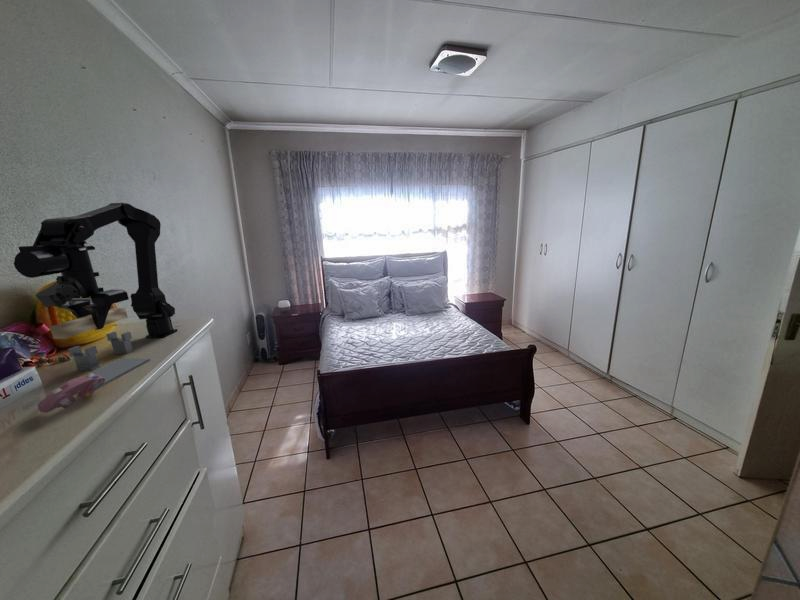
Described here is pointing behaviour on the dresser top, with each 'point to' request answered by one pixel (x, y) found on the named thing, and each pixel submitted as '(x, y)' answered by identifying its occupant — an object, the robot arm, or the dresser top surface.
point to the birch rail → (85, 324)
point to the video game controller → (71, 392)
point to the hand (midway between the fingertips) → (94, 328)
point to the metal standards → (89, 357)
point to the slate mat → (118, 368)
